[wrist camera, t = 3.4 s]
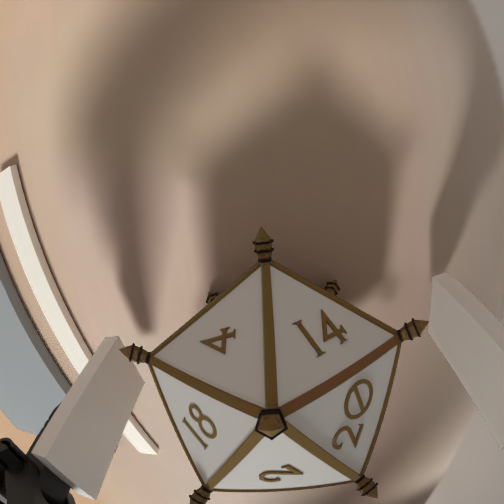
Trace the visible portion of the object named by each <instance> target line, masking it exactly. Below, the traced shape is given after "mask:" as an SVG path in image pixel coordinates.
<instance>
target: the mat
mask: <svg viewBox="0 0 504 504" xmlns="http://www.w3.org/2000/svg"><path fill="white" fill-rule="evenodd" d="M70 388H71V386H70V385H69V383H68V382H67V380H66V379H65V377H64V376H63V374H62V373H61V371H60V370H59V368H58V367H57V365H56V363H55V362H54V360H53V359H52V357H51V355H50V354H49V352H48V350H47V349H46V347H45V345H44V344H43V342H42V340H41V338H40V337H39V335H38V333H37V331H36V329H35V328H34V326H33V324H32V322H31V320H30V318H29V316H28V314H27V312H26V310H25V308H24V306H23V304H22V302H21V300H20V298H19V296H18V294H17V291H16V289H15V287H14V285H13V282H12V280H11V278H10V275H9V273H8V270H7V268H6V265H5V263H4V260H3V258H2V255H1V252H0V409H1V411H2V412H3V413H4V414H5V416H6V417H7V418H8V419H9V420H10V422H11V423H12V424H13V425H14V426H15V427H16V428H17V429H19V430H22V431H25V432H28V433H31V434H34V435H38V434H39V432H40V431H41V429H42V427H43V428H44V424H45V422H46V421H47V420H48V418H49V416H50V414H51V413H52V411H53V410H54V408H55V407H57V406H58V405H59V404H60V403H61V402H62V401H63V399H64V398H65V396H66V394H67V393H68V391H69V390H70ZM117 447H118V445H117ZM116 449H117V448H116ZM115 452H116V450H115Z"/></svg>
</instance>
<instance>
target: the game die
mask: <svg viewBox="0 0 504 504" xmlns="http://www.w3.org/2000/svg"><path fill="white" fill-rule="evenodd" d="M273 241H274V240H273V239H271V238H270V237H269V236H268V235H267V233H266V232H265V231H264V230H263V228H262V227H261V228H260V230H259V233H258V235H257V237H256V239H255V241H253V244H255V249H256V250H254V252H255V253H257V255H258V258H259V260H258V262H257V263H256V264H255V265H254V266H252V267H251V268H250V269H249V270H248V271H247V272H245V273H244V274H243V275H242V276H241V277H240V278H238V279H237V280H236V281H235V282H234V283H233V284H231V285H230V286H229V287H228V288H227V289H226V290H224V291H223V292H222V293H221V294H220V295H217V293H215V294H211V293H208V297H207V300H206V303H208V305H207V306H205V307H204V308H203V309H202V310H201V311H200V312H198V313H197V314H196V315H195V316H194V317H192V318H191V319H190V320H189V321H188V322H186V323H185V324H184V325H183V326H182V327H181V328H179V329H178V330H177V331H176V332H175V333H173V334H172V335H171V336H170V337H169V338H167V339H166V340H165V341H164V342H163V343H161V344H160V345H159V346H158V347H157V348H155V349H154V350H153V351H152V352H147V351H146V350H144V349H142V348H143V347H142V346H141V347H137V346H135V344H134V343H133V345H131V346H128V347H124V348H120V349H119V350H120V352H121V353H122V354H123V355H124V356H125V357H127V358H128V359H129V362H131V361H134V362H137V364H139V363H147V364H148V365H149V368H150V371H151V374H152V376H153V379H154V382H155V384H156V387H157V389H158V392H159V394H160V397H161V399H162V402H163V404H164V407H165V409H166V411H167V414H168V416H169V418H170V421H171V423H172V425H173V427H174V430H175V432H176V434H177V436H178V438H179V440H180V443H181V445H182V447H183V449H184V451H185V453H186V455H187V457H188V459H189V461H190V463H191V465H192V467H193V469H194V471H195V473H196V474H197V476H198V478H199V480H200V482H201V484H202V486H201V488H199V489H197V490H194V493H193V494H192V495H189V497H190V504H205V503H206V502H207V500H210V498H209V496H210V493H211V492H213V491H217V492H276V491H291V490H302V489H312V488H320V487H327V486H334V485H340V484H346V483H351V482H354V483H356V485H357V487H358V489H357V490H358V491H360V492H361V493H362V496H369V497H373V498H378V495H377V485H378V483H376V484H375V483H374V482H373V481H372V480H373V479H372V478H371V479H369V478H367V477H365V475H364V473H365V470H366V468H367V465H368V462H369V460H370V457H371V454H372V451H373V449H374V446H375V443H376V440H377V437H378V434H379V431H380V427H381V424H382V421H383V418H384V414H385V411H386V407H387V404H388V400H389V396H390V392H391V388H392V384H393V380H394V376H395V372H396V367H397V363H398V358H399V353H400V348H401V343H402V342H403V341H404V340H409V339H410V340H413V338H414V337H417V336H418V337H421V335H420V334H421V333H422V331H423V330H424V329H425V327H426V326H427V324H428V323H429V321H421V320H414V319H413V318H412V321H411V322H409V323H404V324H405V325H404V326H403V327H402V328H401V329H400V330H395V329H393V328H392V327H390V326H388V325H386V324H384V323H383V322H381V321H379V320H377V319H376V318H374V317H372V316H370V315H369V314H367V313H365V312H363V311H361V310H360V309H358V308H356V307H354V306H353V305H351V304H349V303H347V302H346V301H344V300H342V299H340V298H338V297H337V296H335V295H337V294H338V293H337V291H339V290H340V288H339V287H338V284H337V281H333V282H328V283H327V286H326V287H325V290H324V289H322V288H321V287H319V286H317V285H315V284H314V283H312V282H310V281H308V280H306V279H305V278H303V277H301V276H299V275H298V274H296V273H294V272H292V271H290V270H289V269H287V268H285V267H283V266H282V265H280V264H278V263H276V262H274V261H273V260H272V259H271V254H272V251H273V250H274V248H272V242H273Z"/></svg>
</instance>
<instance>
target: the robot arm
mask: <svg viewBox="0 0 504 504" xmlns="http://www.w3.org/2000/svg"><path fill="white" fill-rule="evenodd" d="M428 334H429V335H430V336H431V338H432V339H433V341H434V342H435V344H436V345H437V346H438V348H439V349H440V351H441V352H442V354H443V355H444V357H445V358H446V360H447V361H448V363H449V364H450V366H451V367H452V369H453V370H454V372H455V373H456V375H457V377H458V378H459V380H460V381H461V383H462V384H463V386H464V388H465V389H466V391H467V392H468V394H469V396H470V397H471V399H472V401H473V402H474V404H475V406H476V407H477V409H478V411H479V412H480V414H481V416H482V418H483V419H484V421H485V423H486V425H487V426H488V429H489V430H490V432H491V434H492V436H493V438H494V440H495V442H496V443H497V445H498V447H499V449H500V450H501V449H503V448H504V324H503V323H502V322H501V321H500V320H499V319H498V318H497V317H496V316H495V315H494V314H493V313H491V312H490V311H489V310H488V309H487V308H486V307H485V306H484V305H483V304H482V303H481V302H480V301H479V300H478V299H477V298H476V297H475V296H474V295H473V294H471V293H470V292H469V291H468V290H467V289H466V288H465V287H464V286H463V285H461V284H460V283H459V282H458V281H457V280H456V279H455V278H454V277H452V276H451V275H450V274H449V273H448V272H447V273H443V274H440V275H436V276H433V277H432V291H431V306H430V318H429V328H428ZM120 348H124V345H123V343H122V341H121V339H120V337H119V336H115V337H105V339H104V340H103V342H102V343H101V344H100V346H99V347H98V349H97V350H96V351H95V353H94V354H93V356H92V357H91V359H90V360H89V362H88V363H87V364H86V366H85V367H84V369H83V370H82V372H81V373H80V375H79V376H78V378H77V379H76V381H75V382H74V384H73V385H72V387H71V388H70V390H69V391H68V393H67V394H66V396H65V398H64V399H63V401H62V402H61V403H60V404H59V405H58V406H57V407H55V408H54V410H53V411H52V413H51V414H50V416H49V418H48V420H47V421H46V422H45V424H44V428H43V427H42V429H41V431H40V432H39V434H38V435H37V437H36V439H35V441H34V442H33V444H32V446H31V447H30V449H29V451H28V452H27V454H26V455H25V454H24V453H23V452H22V451H21V450H20V449H19V448H18V447H17V446H16V445H15V444H14V442H13V441H12V440H11V439H9V438H2V439H0V494H1V495H2V496H3V497H4V498H6V499H7V504H75V501H74V498H73V496H72V494H70V493H69V490H70V488H72V489H73V490H74V491H76V492H77V493H78V494H80V495H81V496H84V497H87V498H90V499H94V500H96V499H97V496H98V493H99V491H100V488H101V486H102V483H103V480H104V478H105V475H106V473H107V470H108V468H109V465H110V463H111V460H112V458H113V455H114V453H115V450H116V448H117V445H118V443H119V441H120V438H121V436H122V433H123V431H124V429H125V426H126V424H127V422H128V419H129V417H130V415H131V412H132V410H133V408H134V405H135V403H136V401H137V398H138V396H139V394H140V392H141V389H142V387H143V385H144V383H145V382H144V380H143V379H142V377H141V375H140V374H139V372H138V370H137V369H136V367H135V365H134V363H133V362H132V361H131V362H129V359H128V358H127V357H125V356H124V355H123V354H122V353H121V352H120V350H119V349H120ZM0 504H4V503H3V502H1V501H0Z"/></svg>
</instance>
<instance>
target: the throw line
mask: <svg viewBox="0 0 504 504" xmlns="http://www.w3.org/2000/svg"><path fill="white" fill-rule="evenodd" d="M0 201H1V205H2V208H3V212H4V215H5V219H6V222H7V225H8V228H9V231H10V234H11V237H12V240H13V243H14V246H15V248H16V251H17V254H18V256H19V259H20V262H21V264H22V267H23V269H24V272H25V274H26V276H27V279H28V281H29V283H30V286H31V288H32V290H33V292H34V294H35V297H36V299H37V301H38V303H39V305H40V307H41V309H42V311H43V313H44V315H45V317H46V319H47V321H48V323H49V325H50V327H51V328H52V330H53V332H54V334H55V336H56V337H57V339H58V341H59V343H60V344H61V346H62V348H63V350H64V351H65V353H66V355H67V356H68V358H69V360H70V361H71V363H72V364H73V366H74V368H75V369H76V371H77V372H78V374H79V375H80V373H81V372H82V370H83V369H84V367H85V366H86V364H87V363H88V362H89V360H90V359H91V357H92V354H91V352H90V350H89V349H88V347H87V345H86V343H85V342H84V340H83V338H82V336H81V334H80V333H79V331H78V329H77V327H76V325H75V323H74V321H73V319H72V317H71V315H70V313H69V311H68V309H67V307H66V305H65V303H64V301H63V299H62V297H61V294H60V292H59V290H58V288H57V286H56V283H55V281H54V279H53V276H52V274H51V272H50V269H49V267H48V264H47V262H46V259H45V257H44V254H43V251H42V249H41V246H40V243H39V241H38V238H37V235H36V232H35V229H34V226H33V223H32V220H31V217H30V214H29V210H28V207H27V204H26V200H25V197H24V193H23V189H22V185H21V181H20V177H19V173H18V169H17V165H12V166H9V167H8V168H6V169H5V170H4V171H2V172H1V173H0ZM123 434H124V435H125V437H126V438H127V439H128V440H129V441H130V442H131V444H132V445H133V446H134V447H135V448H136V449H137V450H138V451H139V452H140V453H146V454H158V451H159V449H158V448H157V446H156V445H155V444H154V443H153V442H152V440H151V439H150V438H149V437H148V435H147V434H146V433H145V432H144V430H143V429H142V428H141V426H140V425H139V424H138V423H137V421H136V420H135V419H134V417H133V416H132V415H130V417H129V419H128V422H127V424H126V426H125V429H124V431H123Z"/></svg>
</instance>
